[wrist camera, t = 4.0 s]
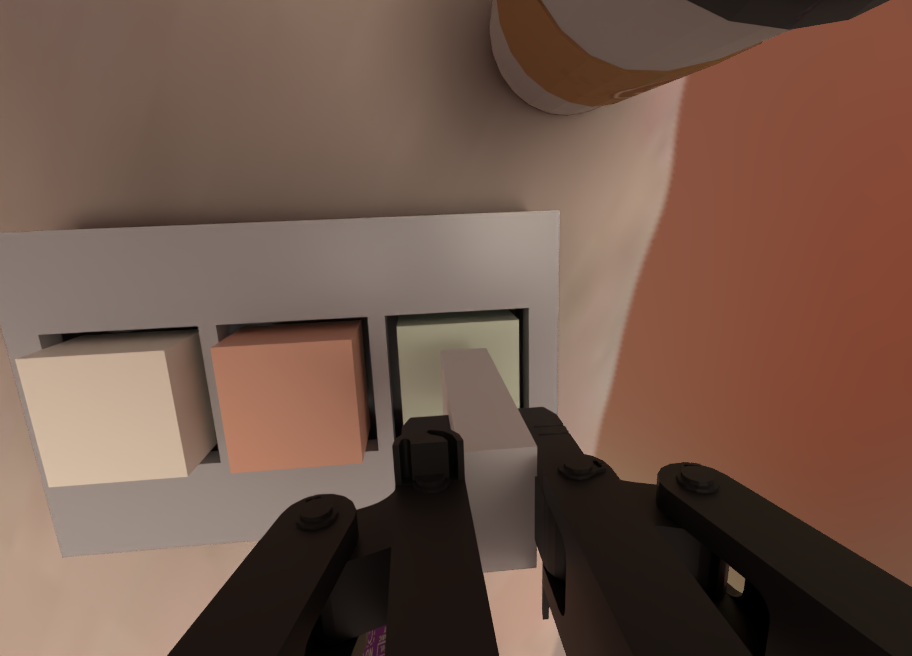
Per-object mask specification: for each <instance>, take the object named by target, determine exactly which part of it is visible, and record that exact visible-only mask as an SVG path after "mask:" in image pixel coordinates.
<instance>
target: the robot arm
mask: <svg viewBox="0 0 912 656" xmlns="http://www.w3.org/2000/svg"><path fill="white" fill-rule="evenodd" d="M440 361H441V382H442V403H443V415H440V416H425V417H411V418H410V419H409V420H408V421H407V422H406V423H405V424H404V425H403V426H402V434H401V435H400V436H399V437H397V438H396V439H395V441H394V443H393V445H392V451H393V463H394V476H395V490H394V492H393V493H392V494H390V495H389V496H388V497H387V498H385V499H383V500H382V501H380V502H378V503H375V504H373V505H370V506H367V507H364V508H360V509H357V510H356V508H355V505H354V503H353V501H351V500H350V499H348V498H347V497H345V496H342V495H337V494H318V495H314V496H310V497H307V498H304V499H302V500H300V501H298V502H296V503H294V504H292V505H290V506H289V507H288V508H287V509H286V510H285V511H284V512H283V513H281V515H280V516H279V517H278V518H277V520H276V521H275V522H274V523H273V525H272V526H271V527H270V528H269V530H268V531H267V532H266V533H265V534H264V536H263V537H262V538H261V539H260V541H259V542H258V543H257V544H256V546H255V547H254V548H253V549H252V551H251V552H250V553H249V554H248V556H247V557H246V558H245V559H244V561H243V562H242V563H241V564H240V566H239V567H238V568H237V569H236V571H235V572H234V573H233V574H232V576H231V577H230V578H229V579H228V581H227V582H226V583H225V584H224V586H223V587H222V588H221V589H220V590H219V592H218V593H217V594H216V595H215V597H214V598H213V599H212V600H211V602H210V603H209V604H208V605H207V607H206V608H205V609H204V610H203V612H202V613H201V614H200V615H199V617H198V618H197V619H196V620H195V622H194V623H193V624H192V625H191V627H190V628H189V629H188V630H187V632H186V633H185V634H184V635H183V637H182V638H181V639H180V640H179V641H178V643H177V644H176V645H175V646H174V648H173V649H172V650H171V651H170V653H169V654H168V655H167V656H362V655H363V653H364V650H365V647H366V645H367V639H368V633H369V632H370V631H372V630H375V629H377V628H379V627H382V626H384V625H387V627H386V643H385V656H499V653H498V648H497V643H496V637H495V632H494V627H493V622H492V617H491V611H490V606H489V601H488V596H487V591H486V586H485V580H484V575H483V573H485V572H495V571H505V570H516V569H526V568H536V565H537V547H538V550H539V553H540V556H541V558H542V561H543V570H542V614H543V620H544V619H549V607H550V609H551V612H552V615H553V617H554V620H555V623H556V626H557V629H558V632H559V635H560V638H561V641H562V644H563V647H564V650H565V653H566V656H912V587H911V586H909V585H907V584H905V583H904V582H902V581H901V580H899V579H897V578H895V577H894V576H892V575H891V574H889V573H887V572H886V571H884V570H882V569H881V568H879V567H878V566H876V565H874V564H872V563H871V562H869V561H868V560H866V559H864V558H863V557H861V556H859V555H858V554H856V553H854V552H853V551H851V550H849V549H848V548H846V547H844V546H843V545H841V544H839V543H838V542H836V541H834V540H833V539H831V538H830V537H828V536H826V535H825V534H823V533H821V532H820V531H818V530H816V529H815V528H813V527H811V526H810V525H808V524H806V523H804V522H803V521H801V520H800V519H798V518H796V517H795V516H793V515H792V514H790V513H788V512H787V511H785V510H783V509H782V508H780V507H778V506H777V505H775V504H773V503H772V502H770V501H768V500H767V499H765V498H763V497H762V496H760V495H759V494H757V493H755V492H754V491H752V490H750V489H749V488H747V487H745V486H743V485H742V484H740V483H739V482H737V481H735V480H734V479H732V478H730V477H729V476H727V475H725V474H723V473H721V472H719V471H717V470H715V469H713V468H709V467H706V466H702V465H700V464H697V463H688V462H682V463H675V464H669V465H667V466H664V467H662V468H661V469H660V471H659V472H658V474H657V485H654V484H646V483H636V482H629V481H623V480H620V479H619V477H618V476H617V475H616V473H615V472H614V471H613V470H612V468H611V467H610V466H609V465H608V464H606V463H605V462H604V461H603V460H600V459H598V458H596V457H594V456H590V455H585V454H584V453H583V452H582V451H581V449H580V448H579V446H578V445H577V443H576V442H575V440H574V439H573V438H572V436H571V435H570V434H569V433H568V430H567V429H566V427H565V426H563V423H562V422H561V420H560V419H559V417H558V416H557V414H555V413H553V412H552V411H550V410H548V409H546V408H545V407H532V408H517V406H516V404H515V403H514V401H513V399H512V397H511V395H510V393H509V391H508V389H507V387H506V385H505V383H504V381H503V379H502V377H501V375H500V374H499V372H498V370H497V368H496V366H495V364H494V362H493V360H492V358H491V356H490V354H489V352H488V350H487V348H476V349H460V350H443V351H440ZM729 566H731V567H732V568H733V569H734V570H735V571H737V572H738V573H739V574H740V575H742V576H743V577H744V578H745V586H744V591H743V593H740V592H739V591H737V590H735V589H734V588H733V587H732V586H731V585H729V584H728V583H727V579H728V571H729Z"/></svg>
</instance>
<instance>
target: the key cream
mask: <svg viewBox="0 0 912 656" xmlns="http://www.w3.org/2000/svg"><path fill="white" fill-rule="evenodd" d="M15 361H16V365H17V369H18V373H19V376H20V380H21V384H22V388H23V392H24V395H25V399H26V403H27V407H28V410H29V414H30V418H31V422H32V426H33V429H34V433H35V437H36V441H37V444H38V448H39V452H40V456H41V460H42V463H43V467H44V471H45V475H46V479H47V482H48V486H49V487H61V486H74V485H87V484H100V483H113V482H126V481H139V480H152V479H165V478H178V477H188V476H189V475H190V474H191V473H192V471H193V470H194V469H195V468H196V467H197V466H198V465H199V463H200V462H201V461H202V460H203V459H204V458H205V457H206V455H207V454H208V453H209V452H210V451H211V450H212V449H213V447H214V446H215V445H216V444H217V437H216V431H215V425H214V419H213V413H212V407H211V401H210V395H209V389H208V384H207V378H206V372H205V366H204V360H203V354H202V348H201V342H200V336H199V330H198V329H190V330H172V331H154V332H136V333H118V334H100V335H82V336H79V337H76V338H73V339H70V340H67V341H65V342H62V343H59V344H56V345H53V346H51V347H48V348H45V349H42V350H39V351H37V352H34V353H31V354H28V355H25V356H23V357H20V358H17V359H15Z"/></svg>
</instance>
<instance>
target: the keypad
mask: <svg viewBox="0 0 912 656" xmlns="http://www.w3.org/2000/svg"><path fill="white" fill-rule="evenodd" d="M559 226H560V210H550V211H525V212H500V213H475V214H450V215H425V216H400V217H375V218H350V219H325V220H300V221H275V222H250V223H225V224H200V225H175V226H150V227H125V228H100V229H75V230H50V231H25V232H0V326H1V330H2V334H3V337H4V341H5V345H6V349H7V352H8V356H9V360H10V364H11V367H12V371H13V375H14V378H15V382H16V386H17V390H18V393H19V397H20V401H21V405H22V408H23V412H24V416H25V420H26V423H27V427H28V431H29V435H30V438H31V442H32V446H33V450H34V453H35V457H36V461H37V465H38V468H39V472H40V476H41V480H42V483H43V487H44V491H45V495H46V498H47V502H48V506H49V510H50V513H51V517H52V521H53V524H54V528H55V532H56V536H57V539H58V543H59V547H60V551H61V554H62V557H73V556H85V555H96V554H108V553H119V552H131V551H142V550H153V549H165V548H176V547H188V546H199V545H211V544H222V543H234V542H245V541H257V540H260V539H261V538H262V537H263V536H264V534H265V533H266V532H267V531H268V530H269V528H270V527H271V526H272V525H273V523H274V522H275V521H276V520H277V518H278V517H279V516H280V515H281V513H283V512H284V511H285V510H286V509H287V508H288V507H289V506H290V505H292V504H294V503H296V502H298V501H300V500H302V499H304V498H307V497H310V496H314V495H318V494H337V495H342V496H345V497H347V498H348V499H350V500H351V501H353V503H354V505H355V508H356V510H357V509H360V508H364V507H367V506H370V505H373V504H375V503H378V502H380V501H382V500H383V499H385V498H387V497H388V496H389V495H390V494H392V493H393V492H394V490H395V476H394V463H393V451H392V445H393V443H394V441H395V439H396V438H397V437H399V436H400V435H401V434H402V426H403V412H402V398H401V384H400V369H399V355H398V341H397V321H398V315H407V314H426V313H444V312H462V311H480V310H498V309H508V310H509V311H510V312H511V313H512V314H513V315H514V316H515V317H516V318H517V319H518V320H519V403H520V408H532V407H545V408H546V409H548V410H550V411H552V412H553V413H555V414H557V407H558V317H559ZM353 320H361V322H362V333H363V345H364V356H365V368H366V379H367V391H368V402H369V414H370V425H371V426H370V431H369V436H368V441H367V445H366V450H365V455H364V459H363V463H360V464H347V465H334V466H321V467H308V468H295V469H282V470H269V471H256V472H243V473H231V471H230V465H229V459H228V453H227V447H226V441H225V435H224V429H223V423H222V417H221V410H220V404H219V398H218V392H217V386H216V380H215V374H214V368H213V362H212V356H211V350H210V348H211V347H212V346H214V345H215V344H217V343H219V342H220V341H222V340H223V339H225V338H226V337H228V336H229V335H231V334H233V333H234V332H236V331H237V330H239V329H240V328H242V327H244V326H262V325H280V324H298V323H317V322H335V321H353ZM190 329H198V330H199V336H200V342H201V348H202V354H203V360H204V366H205V372H206V378H207V384H208V389H209V395H210V401H211V407H212V413H213V419H214V425H215V431H216V437H217V444H216V445H215V446H214V447H213V449H212V450H211V451H210V452H209V453H208V454H207V455H206V457H205V458H204V459H203V460H202V461H201V462H200V463H199V465H198V466H197V467H196V468H195V469H194V470H193V471H192V473H191V474H190V475H189V476H188V477H178V478H165V479H152V480H139V481H126V482H113V483H100V484H87V485H74V486H61V487H49V486H48V482H47V479H46V475H45V471H44V467H43V463H42V460H41V456H40V452H39V448H38V444H37V441H36V437H35V433H34V429H33V426H32V422H31V418H30V414H29V410H28V407H27V403H26V399H25V395H24V392H23V388H22V384H21V380H20V376H19V373H18V369H17V365H16V361H15V359H17V358H20V357H23V356H25V355H28V354H31V353H34V352H37V351H39V350H42V349H45V348H48V347H51V346H53V345H56V344H59V343H62V342H65V341H67V340H70V339H73V338H76V337H79V336H82V335H100V334H118V333H136V332H154V331H172V330H190Z"/></svg>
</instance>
